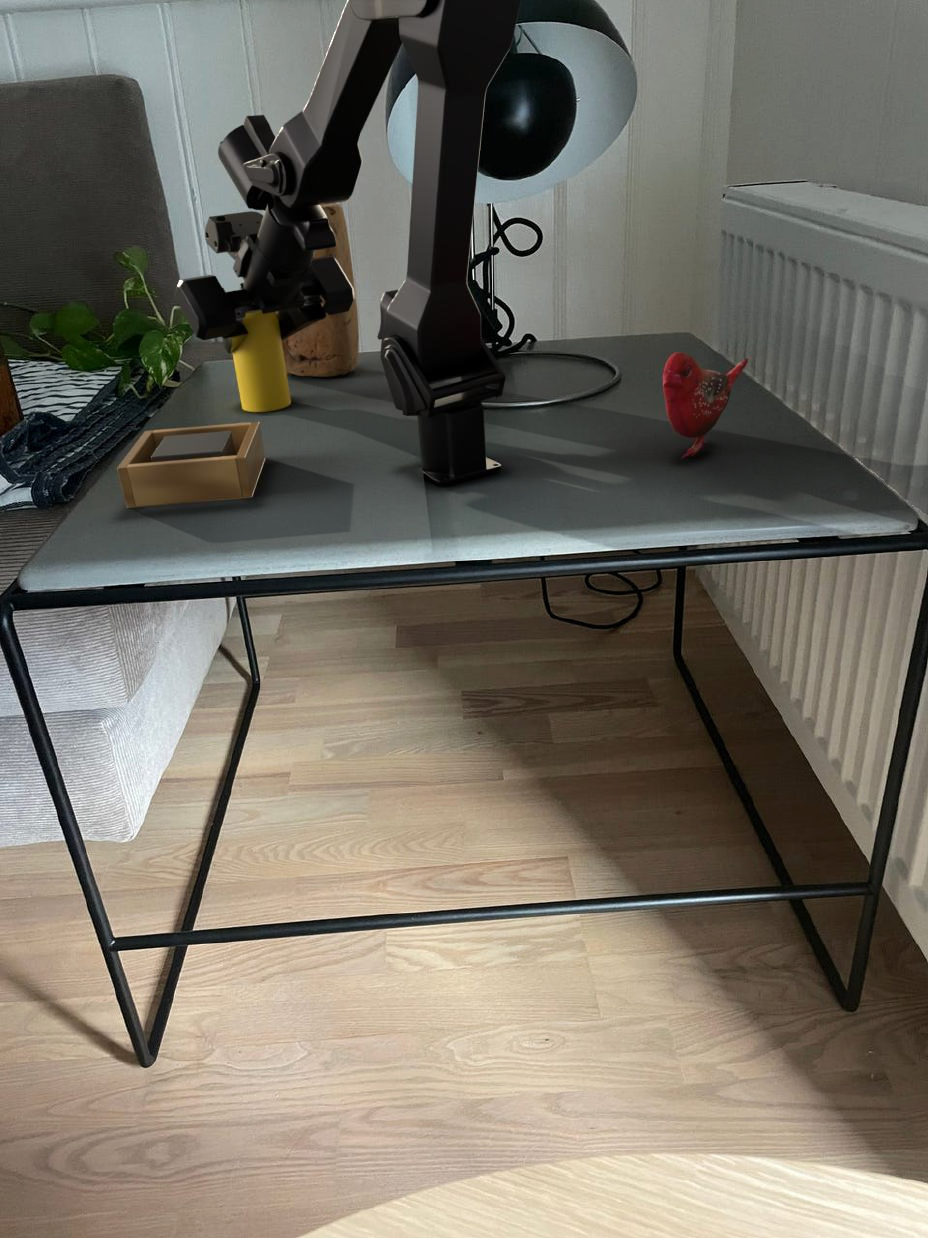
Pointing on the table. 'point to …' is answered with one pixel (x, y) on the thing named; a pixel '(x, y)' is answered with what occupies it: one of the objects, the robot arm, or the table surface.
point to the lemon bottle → (262, 365)
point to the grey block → (194, 446)
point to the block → (328, 320)
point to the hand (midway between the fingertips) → (251, 344)
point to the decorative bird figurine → (695, 396)
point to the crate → (192, 469)
